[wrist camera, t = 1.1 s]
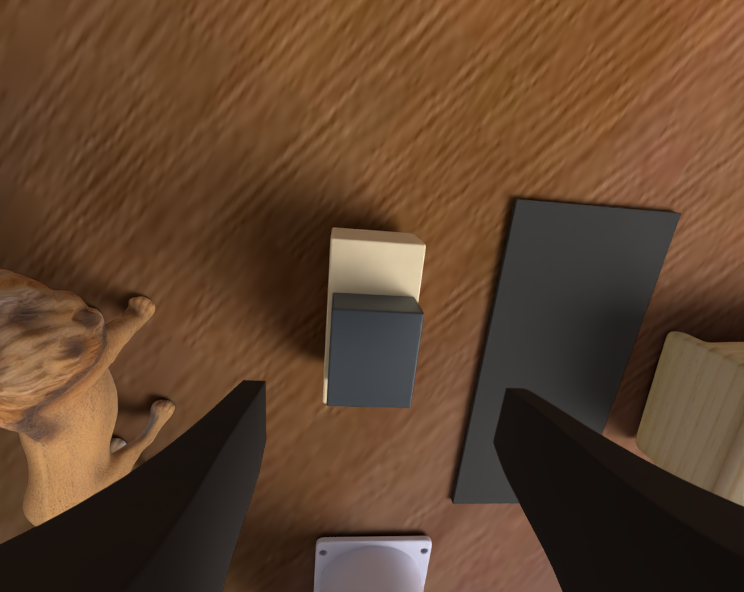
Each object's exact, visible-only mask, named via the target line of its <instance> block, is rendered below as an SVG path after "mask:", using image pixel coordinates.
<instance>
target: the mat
mask: <svg viewBox="0 0 744 592" xmlns="http://www.w3.org/2000/svg"><path fill="white" fill-rule="evenodd" d="M680 215H681V213H676V212H665V211H653V210H642V209H630V208H619V207H607V206H595V205H584V204H572V203H561V202H549V201H537V200H526V199H514V204H513V209H512V213H511V218H510V223H509V228H508V233H507V237H506V242H505V247H504V252H503V257H502V261H501V266H500V271H499V276H498V281H497V285H496V290H495V295H494V300H493V305H492V309H491V314H490V319H489V324H488V329H487V333H486V338H485V343H484V348H483V353H482V357H481V362H480V367H479V372H478V377H477V381H476V386H475V391H474V396H473V401H472V405H471V410H470V415H469V420H468V425H467V429H466V434H465V439H464V444H463V449H462V453H461V458H460V463H459V468H458V473H457V477H456V482H455V487H454V492H453V497H452V502H453V504H484V503H519V501H518V499H517V498H516V496H515V494H514V492H513V490H512V488H511V486H510V484H509V482H508V480H507V478H506V476H505V474H504V471H503V469H502V466H501V463H500V461H499V458H498V455H497V452H496V449H495V447H494V444H493V440H494V436H495V432H496V428H497V424H498V419H499V415H500V411H501V407H502V403H503V399H504V395H505V390H506V388H525V389H527V390H529V391H531V392H533V393H535V394H536V395H538V396H540V397H541V398H543V399H545V400H546V401H548V402H550V403H551V404H553V405H554V406H556V407H558V408H559V409H561V410H562V411H564V412H565V413H567V414H569V415H570V416H572V417H573V418H575V419H576V420H578V421H580V422H581V423H583V424H584V425H586V426H588V427H589V428H591V429H592V430H594V431H596V432H597V433H599V434H601V435H602V433H603V430H604V427H605V424H606V422H607V419H608V416H609V413H610V410H611V408H612V405H613V402H614V399H615V396H616V394H617V391H618V388H619V385H620V383H621V380H622V377H623V374H624V371H625V369H626V366H627V363H628V360H629V357H630V355H631V352H632V349H633V346H634V343H635V341H636V338H637V335H638V332H639V329H640V327H641V324H642V321H643V318H644V316H645V313H646V310H647V307H648V304H649V302H650V299H651V296H652V293H653V290H654V288H655V285H656V282H657V279H658V276H659V274H660V271H661V268H662V265H663V263H664V260H665V257H666V254H667V251H668V249H669V246H670V243H671V240H672V237H673V235H674V232H675V229H676V226H677V223H678V221H679V218H680Z"/></svg>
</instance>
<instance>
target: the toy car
mask: <svg viewBox="0 0 744 592" xmlns="http://www.w3.org/2000/svg"><path fill="white" fill-rule="evenodd" d="M425 249H426V245H425V244H424V243H423V242H422V241H421V240H420V239H419V238H418V237H417V236H415V235H414V234H413V233H403V232H389V231H375V230H362V229H348V228H335V227H334V228H332V232H331V239H330V259H329V280H328V300H327V320H326V340H325V361H324V381H323V403H326V404H327V406H350V407H395V408H410V407H411V402H412V395H413V388H414V381H415V374H416V367H417V360H418V353H419V347H420V340H421V333H422V326H423V319H424V313H423V311H422V309H421V308H420V306H419V304H418V300H419V293H420V285H421V278H422V271H423V263H424V256H425Z"/></svg>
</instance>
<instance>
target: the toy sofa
mask: <svg viewBox="0 0 744 592" xmlns="http://www.w3.org/2000/svg"><path fill="white" fill-rule="evenodd" d="M636 444H637V446H638V448H639V449H640V450H641V451H642V452H643V453H645V454H646V455H647V456H648V457H649V458H650V459H651V460H652V461H653V462H655V463H656V464H657V465H658V466H659V467H660V468H661V469H663V470H665V471H667V472H669V473H671V474H673V475H675V476H677V477H679V478H681V479H683V480H685V481H688V482H690V483H692V484H694V485H696V486H698V487H700V488H703V489H705V490H707V491H709V492H712V493H714V494H716V495H718V496H721V497H723V498H725V499H728V500H730V501H732V502H734V503H737V504H739V505H741V506H744V342H717V343H708V342H704V341H701V340H699V339H697V338H695V337H693V336H690V335H688V334H686V333H683V332H677V331H674V332H669V334H668V335H667V336H666V340H665V343H664V346H663V350H662V353H661V356H660V359H659V362H658V365H657V369H656V372H655V376H654V379H653V382H652V386H651V389H650V392H649V396H648V399H647V402H646V406H645V409H644V412H643V416H642V419H641V422H640V426H639V429H638V433H637V436H636Z"/></svg>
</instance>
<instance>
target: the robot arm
mask: <svg viewBox="0 0 744 592" xmlns="http://www.w3.org/2000/svg"><path fill="white" fill-rule="evenodd" d="M265 442H266V386H265V381H250V380H243V381H242V382H241V383H240V384H239V385H238V386H237V387H235V388H234V389H233V390H232V391H231V392H230V393H229V394H228V395H227V396H226V397H225V398H224V399H223V400H222V401H220V402H219V403H218V404H217V405H216V406H215V407H214V408H213V409H212V410H211V411H209V412H208V413H207V414H206V415H205V416H204V417H203V418H202V419H200V420H199V421H198V422H197V423H196V424H195V425H194V426H192V427H191V428H190V429H189V430H187V431H186V432H185V433H184V434H182V435H181V436H180V437H179V438H177V439H176V440H175V441H174V442H172V443H171V444H170V445H169V446H167V447H166V448H165V449H163V450H162V451H161V452H159V453H158V454H157V455H155V456H154V457H152V458H151V459H150V460H148V461H147V462H145V463H144V464H142V465H141V466H139V467H138V468H136V469H135V470H133V471H132V472H130V473H129V474H127V475H126V476H124V477H123V478H121V479H119V480H118V481H116V482H114V483H113V484H111V485H109V486H108V487H106V488H104V489H103V490H101V491H99V492H97V493H96V494H94V495H92V496H91V497H89V498H87V499H86V500H84V501H82V502H81V503H79V504H77V505H76V506H74V507H72V508H70V509H68V510H66V511H65V512H63V513H61V514H59V515H57V516H55V517H53V518H51V519H50V520H48V521H46V522H44V523H42V524H40V525H38V526H36V527H34V528H32V529H30V530H28V531H26V532H24V533H22V534H20V535H18V536H16V537H14V538H12V539H10V540H8V541H6V542H4V543H2V544H0V592H223V588H224V584H225V580H226V576H227V572H228V569H229V566H230V562H231V559H232V555H233V552H234V549H235V546H236V543H237V540H238V537H239V534H240V531H241V528H242V525H243V522H244V519H245V516H246V513H247V510H248V507H249V504H250V500H251V497H252V494H253V491H254V488H255V485H256V482H257V479H258V476H259V472H260V467H261V462H262V458H263V453H264V448H265ZM493 444H494V447H495V449H496V452H497V455H498V458H499V461H500V463H501V466H502V469H503V471H504V474H505V476H506V478H507V480H508V482H509V484H510V486H511V488H512V490H513V492H514V494H515V496H516V498H517V499H518V501H519V503H520V505H521V507H522V509H523V511H524V513H525V515H526V517H527V519H528V520H529V522H530V524H531V526H532V528H533V530H534V532H535V534H536V536H537V538H538V539H539V541H540V543H541V545H542V547H543V549H544V551H545V553H546V555H547V557H548V559H549V561H550V563H551V565H552V568H553V570H554V572H555V575H556V577H557V579H558V582H559V584H560V587H561V589H562V591H563V592H744V506H741V505H739V504H737V503H734V502H732V501H730V500H728V499H725V498H723V497H721V496H718V495H716V494H714V493H712V492H709V491H707V490H705V489H703V488H700V487H698V486H696V485H694V484H692V483H690V482H688V481H685V480H683V479H681V478H679V477H677V476H675V475H673V474H671V473H669V472H667V471H665V470H663V469H661V468H659V467H657V466H656V465H654V464H652V463H650V462H648V461H646V460H644V459H642V458H640V457H638V456H637V455H635V454H633V453H631V452H630V451H628V450H626V449H624V448H623V447H621V446H619V445H617V444H616V443H614V442H612V441H611V440H609V439H607V438H606V437H604V436H602V435H601V434H599V433H597V432H596V431H594V430H592V429H591V428H589V427H588V426H586V425H584V424H583V423H581V422H580V421H578V420H576V419H575V418H573V417H572V416H570V415H569V414H567V413H565V412H564V411H562V410H561V409H559V408H558V407H556V406H554V405H553V404H551V403H550V402H548V401H546V400H545V399H543V398H541V397H540V396H538V395H536V394H535V393H533V392H531V391H529V390H527V389H525V388H506V390H505V395H504V399H503V403H502V407H501V411H500V415H499V419H498V424H497V428H496V432H495V436H494V440H493ZM431 547H432V542H431V539H430V537H428V536H370V537H322V538H319V539H318V540H317V542H316V556H315V576H314V592H424V590H423V588H424V583H425V578H426V573H427V568H428V563H429V557H430V552H431Z"/></svg>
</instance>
